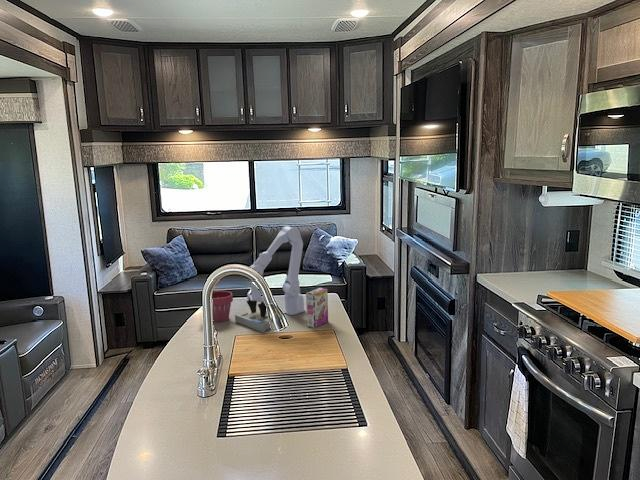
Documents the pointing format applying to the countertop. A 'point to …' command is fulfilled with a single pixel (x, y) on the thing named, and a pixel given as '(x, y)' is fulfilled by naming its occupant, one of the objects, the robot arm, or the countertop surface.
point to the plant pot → (221, 305)
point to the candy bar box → (317, 307)
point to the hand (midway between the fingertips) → (258, 315)
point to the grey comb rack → (252, 322)
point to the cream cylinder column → (256, 315)
